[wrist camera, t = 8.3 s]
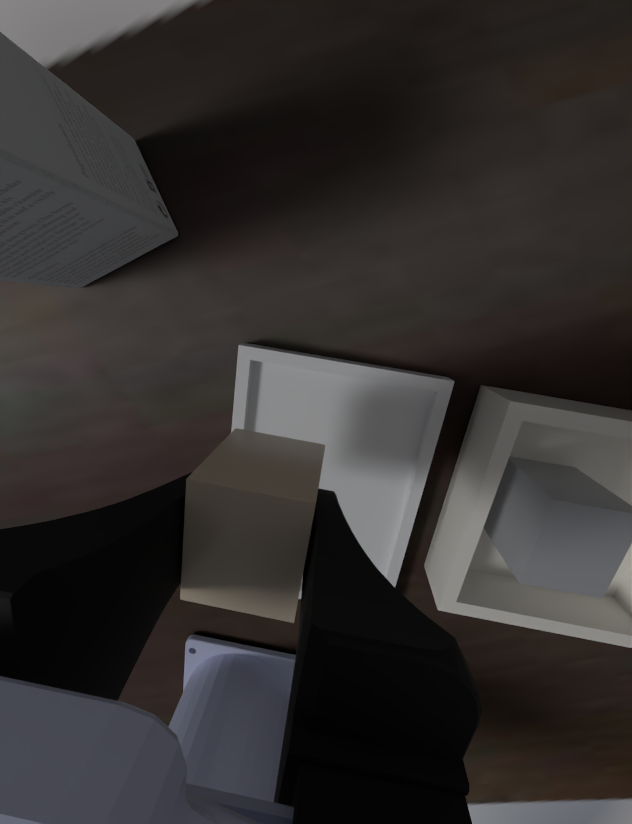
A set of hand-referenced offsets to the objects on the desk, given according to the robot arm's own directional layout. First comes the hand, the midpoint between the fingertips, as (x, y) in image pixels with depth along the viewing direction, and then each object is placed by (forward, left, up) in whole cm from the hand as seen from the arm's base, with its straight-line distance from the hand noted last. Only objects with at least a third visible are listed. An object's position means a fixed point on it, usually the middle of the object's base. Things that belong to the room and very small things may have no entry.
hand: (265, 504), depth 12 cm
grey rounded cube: (-1, -12, -6) cm, 14 cm away
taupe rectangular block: (0, 0, -1) cm, 1 cm away
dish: (-1, -14, -6) cm, 15 cm away
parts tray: (-2, -2, -6) cm, 7 cm away
